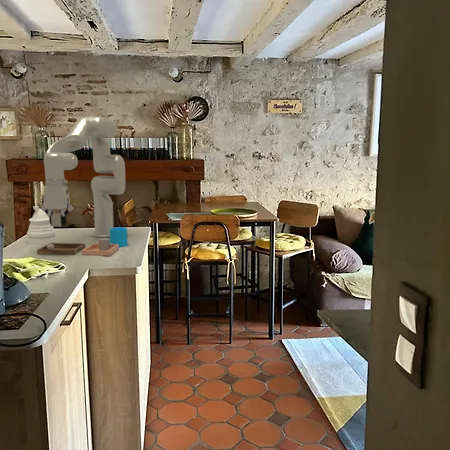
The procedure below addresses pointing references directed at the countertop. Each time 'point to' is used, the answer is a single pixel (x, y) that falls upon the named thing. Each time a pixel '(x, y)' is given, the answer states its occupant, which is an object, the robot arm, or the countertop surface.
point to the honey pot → (40, 228)
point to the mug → (118, 236)
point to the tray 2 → (94, 250)
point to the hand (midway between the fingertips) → (58, 224)
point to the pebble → (50, 247)
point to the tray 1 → (61, 249)
